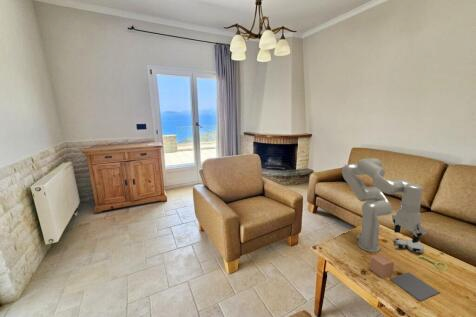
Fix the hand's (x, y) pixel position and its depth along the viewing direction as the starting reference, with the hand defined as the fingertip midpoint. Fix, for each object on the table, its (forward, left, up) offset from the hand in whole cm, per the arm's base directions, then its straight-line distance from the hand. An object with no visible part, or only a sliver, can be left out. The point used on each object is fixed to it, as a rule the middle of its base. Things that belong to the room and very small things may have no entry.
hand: (405, 237), depth 110 cm
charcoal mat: (+9, -5, -21) cm, 24 cm away
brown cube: (-4, -11, -21) cm, 24 cm away
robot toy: (-13, +25, -22) cm, 36 cm away
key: (+2, +24, -22) cm, 33 cm away
